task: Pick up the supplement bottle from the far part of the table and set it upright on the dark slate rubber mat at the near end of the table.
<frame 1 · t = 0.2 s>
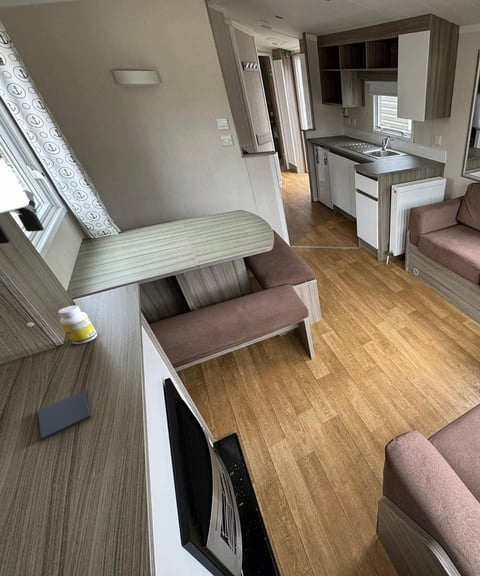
hand: (19, 236, 69), 31 cm above the cabinet, tool pointing down, fingers open, 9 cm apart
supplement bottle: (85, 339, 85), on the cabinet
mat: (65, 414, 62), on the cabinet
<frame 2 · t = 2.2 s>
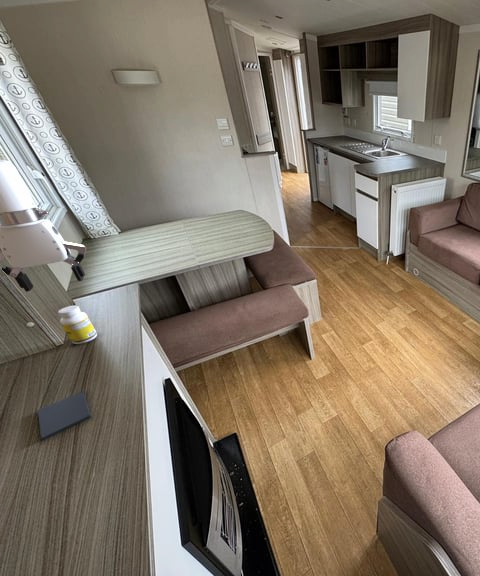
hand: (56, 284, 78), 17 cm above the cabinet, tool pointing down, fingers open, 9 cm apart
nothing on the cabinet moved.
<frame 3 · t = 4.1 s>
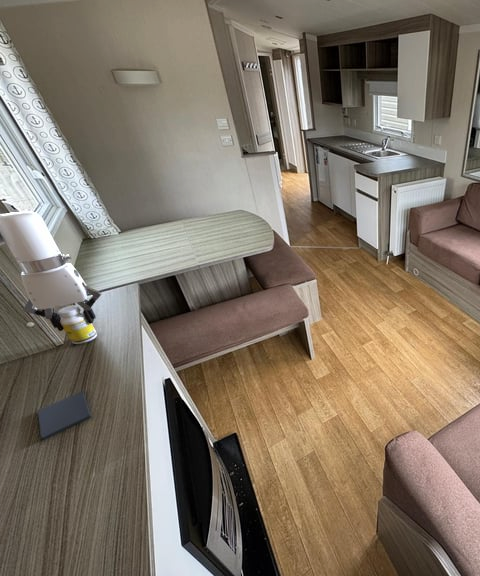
hand: (77, 324, 83), 5 cm above the cabinet, tool pointing down, fingers closed on supplement bottle, 5 cm apart
supplement bottle: (85, 339, 85), on the cabinet, touching gripper
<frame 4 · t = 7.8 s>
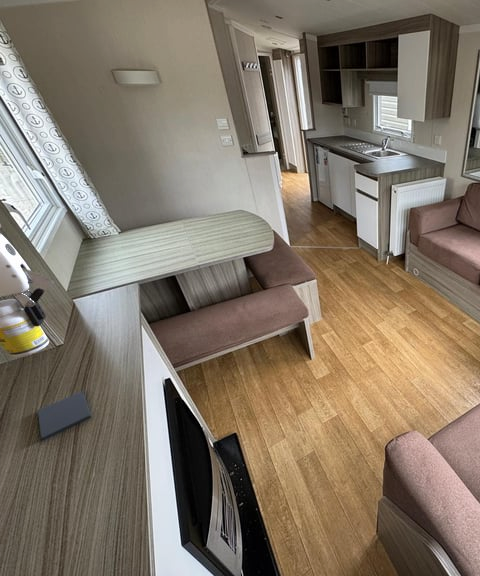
hand: (16, 327, 55), 20 cm above the cabinet, tool pointing down, fingers closed on supplement bottle, 5 cm apart
supplement bottle: (30, 349, 58), point 14 cm above the cabinet, touching gripper
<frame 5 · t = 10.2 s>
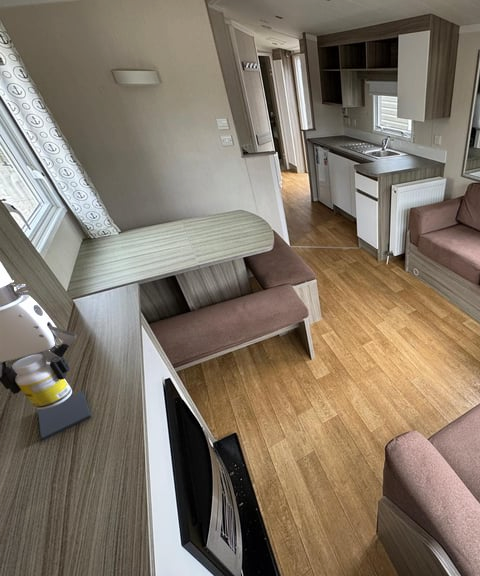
hand: (41, 381, 58), 9 cm above the cabinet, tool pointing down, fingers closed on supplement bottle, 5 cm apart
supplement bottle: (54, 400, 60), point 4 cm above the cabinet, touching gripper
when the fingers open (5 cm above the cabinet, at t = 11.6 s): supplement bottle stays where it is, resting on mat.
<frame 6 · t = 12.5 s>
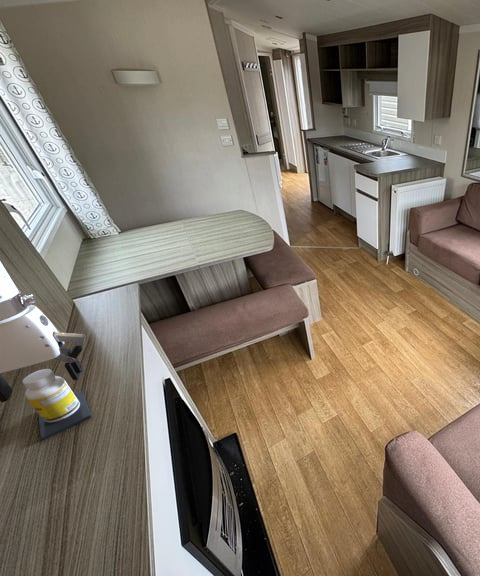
hand: (44, 385, 58), 8 cm above the cabinet, tool pointing down, fingers open, 9 cm apart
supplement bottle: (63, 413, 62), resting on mat
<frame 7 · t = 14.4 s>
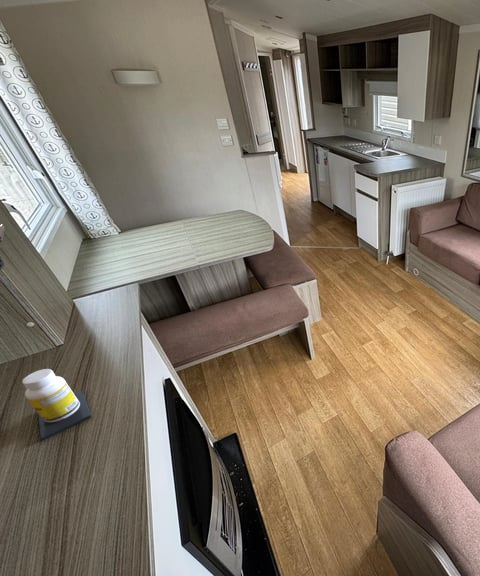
nothing on the cabinet moved.
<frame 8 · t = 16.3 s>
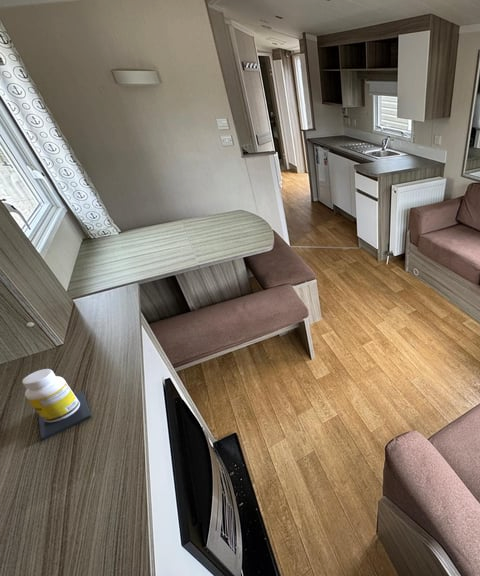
nothing on the cabinet moved.
at the end: supplement bottle inside the target area on the mat (0.1 cm from its centre), point 0.4 cm above the mat's base; supplement bottle tilted 0°; the gripper is holding nothing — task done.
